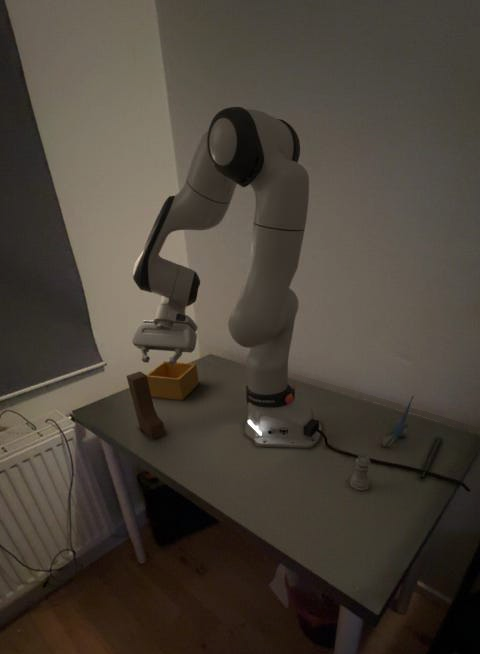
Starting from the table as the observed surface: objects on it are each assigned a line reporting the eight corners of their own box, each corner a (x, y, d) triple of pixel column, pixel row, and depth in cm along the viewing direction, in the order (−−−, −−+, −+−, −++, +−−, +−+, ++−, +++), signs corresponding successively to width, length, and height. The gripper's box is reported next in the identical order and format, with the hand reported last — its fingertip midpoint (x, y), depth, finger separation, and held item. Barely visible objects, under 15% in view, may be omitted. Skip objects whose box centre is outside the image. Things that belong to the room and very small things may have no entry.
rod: (441, 439, 94) (441, 437, 93) (423, 479, 81) (424, 477, 81) (438, 438, 94) (439, 436, 94) (420, 478, 82) (420, 476, 81)
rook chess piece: (365, 478, 83) (370, 451, 79) (372, 491, 79) (377, 463, 75) (346, 479, 83) (350, 452, 79) (352, 492, 79) (356, 465, 75)
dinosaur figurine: (389, 446, 99) (378, 444, 91) (410, 396, 96) (401, 390, 89) (399, 450, 97) (389, 449, 90) (421, 399, 95) (412, 394, 87)
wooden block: (166, 434, 105) (154, 379, 95) (152, 440, 102) (139, 385, 93) (152, 422, 111) (140, 370, 101) (139, 428, 109) (125, 375, 99)
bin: (198, 383, 133) (196, 364, 129) (182, 400, 122) (178, 379, 118) (167, 380, 137) (164, 361, 133) (149, 396, 127) (144, 376, 122)
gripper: (134, 314, 107) (123, 356, 105) (194, 316, 101) (183, 361, 99) (145, 324, 113) (135, 364, 111) (202, 327, 107) (192, 369, 105)
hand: (158, 363), depth 105 cm, fingers open, 8 cm apart
